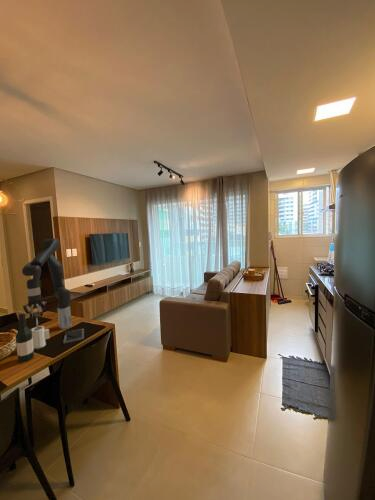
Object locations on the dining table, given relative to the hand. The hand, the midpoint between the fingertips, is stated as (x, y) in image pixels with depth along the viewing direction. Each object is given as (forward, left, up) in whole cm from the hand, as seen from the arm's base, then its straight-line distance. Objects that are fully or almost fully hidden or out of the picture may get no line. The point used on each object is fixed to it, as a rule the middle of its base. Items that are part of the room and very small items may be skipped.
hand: (36, 317), depth 148 cm
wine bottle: (+6, +14, -21) cm, 26 cm away
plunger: (0, 0, -9) cm, 9 cm away
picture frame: (-22, -2, -22) cm, 31 cm away
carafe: (-1, 0, -21) cm, 21 cm away
